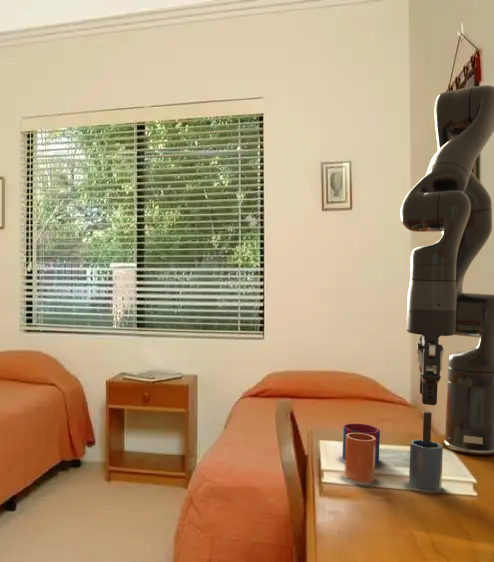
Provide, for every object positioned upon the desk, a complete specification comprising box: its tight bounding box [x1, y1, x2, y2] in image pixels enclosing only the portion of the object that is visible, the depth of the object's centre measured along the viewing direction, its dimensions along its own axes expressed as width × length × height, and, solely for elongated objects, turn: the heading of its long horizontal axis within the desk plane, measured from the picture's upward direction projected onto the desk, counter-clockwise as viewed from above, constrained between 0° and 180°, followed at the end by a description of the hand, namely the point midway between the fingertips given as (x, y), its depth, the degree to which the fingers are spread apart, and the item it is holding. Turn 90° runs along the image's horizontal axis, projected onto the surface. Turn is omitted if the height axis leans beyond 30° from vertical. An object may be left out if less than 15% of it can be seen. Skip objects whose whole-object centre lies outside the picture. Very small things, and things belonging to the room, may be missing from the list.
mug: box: [342, 422, 381, 465], centre depth 117 cm, size 7×10×7 cm
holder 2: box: [408, 439, 444, 493], centre depth 104 cm, size 5×5×8 cm
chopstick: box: [421, 410, 433, 448], centre depth 104 cm, size 1×1×13 cm
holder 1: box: [344, 433, 376, 483], centre depth 108 cm, size 5×5×8 cm
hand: (427, 399), depth 104 cm, fingers open, 8 cm apart
